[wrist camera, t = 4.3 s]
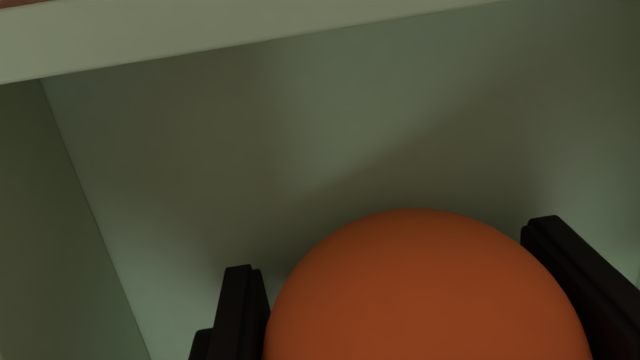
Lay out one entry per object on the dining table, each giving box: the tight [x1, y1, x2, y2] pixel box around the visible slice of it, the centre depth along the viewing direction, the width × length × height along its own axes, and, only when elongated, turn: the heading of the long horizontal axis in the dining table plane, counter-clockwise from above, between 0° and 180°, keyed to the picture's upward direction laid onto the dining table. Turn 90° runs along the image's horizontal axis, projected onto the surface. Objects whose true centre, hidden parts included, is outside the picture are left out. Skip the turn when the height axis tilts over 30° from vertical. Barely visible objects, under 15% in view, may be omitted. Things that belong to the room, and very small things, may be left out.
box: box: [0, 0, 640, 360], centre depth 10 cm, size 15×15×4 cm
